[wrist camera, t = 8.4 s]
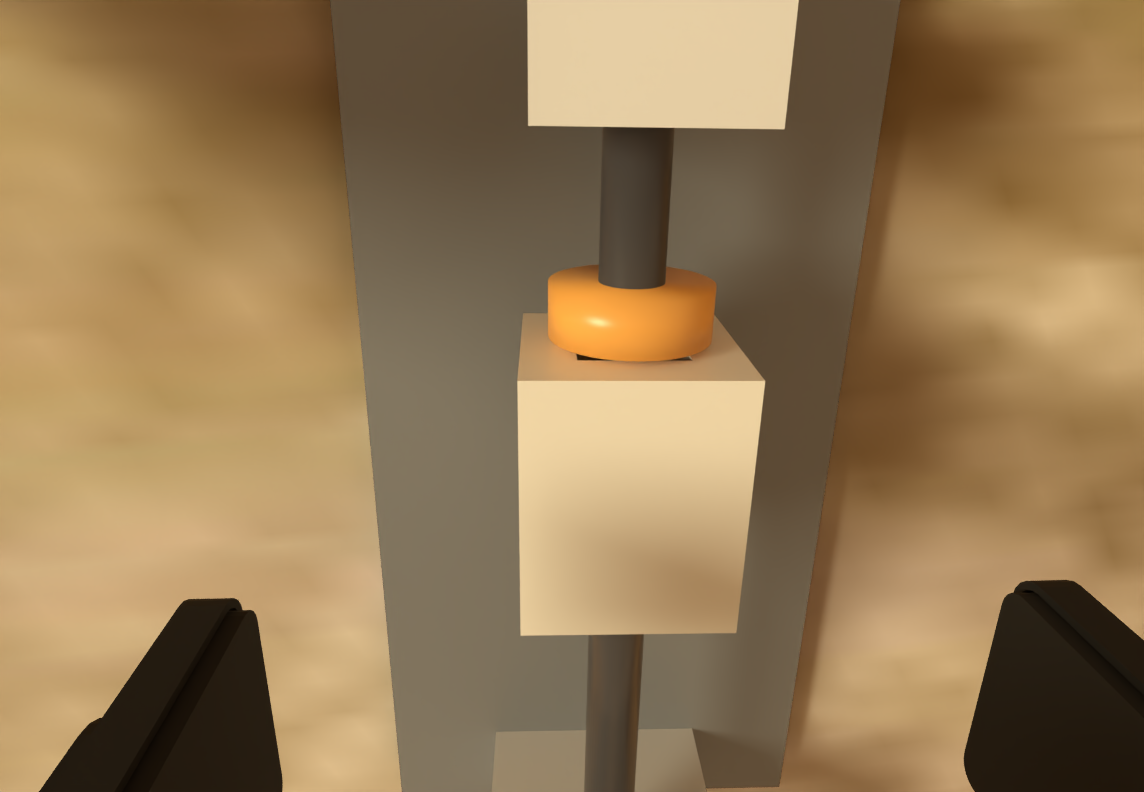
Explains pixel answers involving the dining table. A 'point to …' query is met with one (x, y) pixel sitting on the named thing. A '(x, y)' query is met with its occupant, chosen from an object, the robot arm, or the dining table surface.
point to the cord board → (596, 342)
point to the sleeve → (634, 487)
